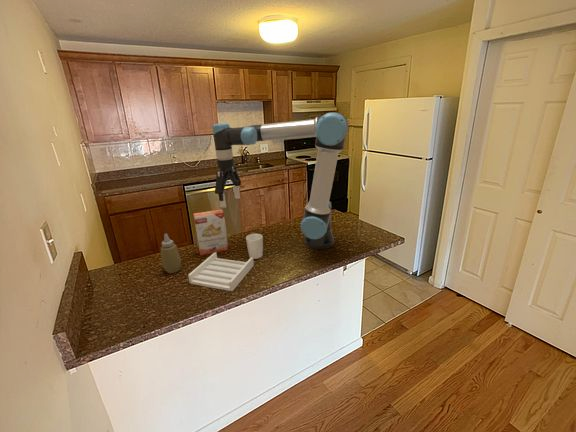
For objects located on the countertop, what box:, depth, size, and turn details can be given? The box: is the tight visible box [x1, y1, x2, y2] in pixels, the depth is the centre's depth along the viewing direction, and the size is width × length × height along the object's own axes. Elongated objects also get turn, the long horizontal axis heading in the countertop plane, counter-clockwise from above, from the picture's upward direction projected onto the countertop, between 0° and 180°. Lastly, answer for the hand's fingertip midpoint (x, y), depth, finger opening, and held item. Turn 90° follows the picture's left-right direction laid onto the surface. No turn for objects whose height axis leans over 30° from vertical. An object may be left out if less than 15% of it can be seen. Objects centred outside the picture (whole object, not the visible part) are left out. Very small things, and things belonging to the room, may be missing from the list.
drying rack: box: [187, 252, 255, 292], centre depth 121 cm, size 20×20×4 cm
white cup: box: [245, 233, 264, 260], centre depth 134 cm, size 8×8×10 cm
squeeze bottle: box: [160, 233, 182, 274], centre depth 123 cm, size 8×8×18 cm
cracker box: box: [193, 208, 229, 256], centre depth 139 cm, size 14×6×21 cm, turn 111°
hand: (230, 202), depth 136 cm, fingers open, 13 cm apart
